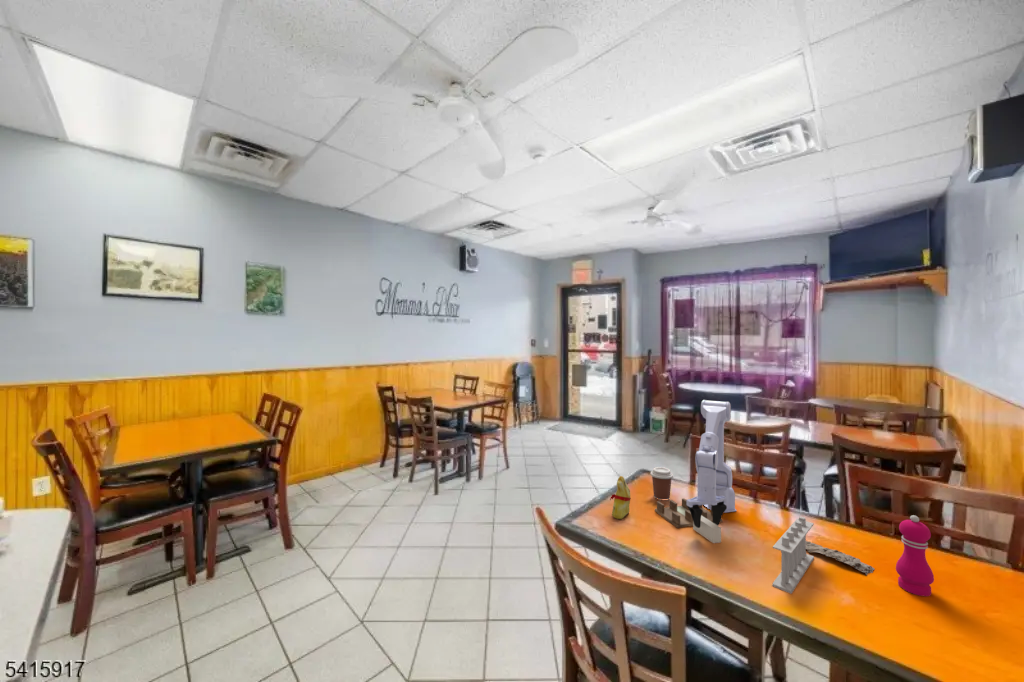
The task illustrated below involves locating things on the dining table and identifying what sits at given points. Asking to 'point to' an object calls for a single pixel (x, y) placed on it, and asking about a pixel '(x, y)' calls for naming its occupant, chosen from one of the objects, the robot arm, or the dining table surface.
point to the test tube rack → (793, 555)
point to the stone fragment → (840, 557)
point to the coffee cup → (661, 482)
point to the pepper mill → (914, 558)
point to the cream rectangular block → (709, 530)
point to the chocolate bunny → (621, 499)
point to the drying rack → (680, 513)
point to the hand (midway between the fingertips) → (706, 525)
